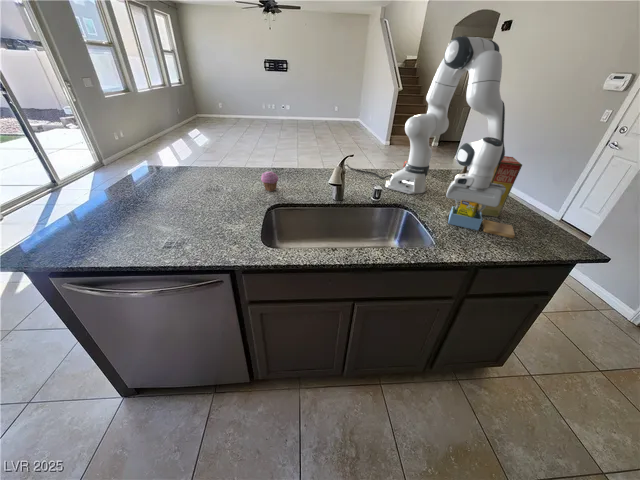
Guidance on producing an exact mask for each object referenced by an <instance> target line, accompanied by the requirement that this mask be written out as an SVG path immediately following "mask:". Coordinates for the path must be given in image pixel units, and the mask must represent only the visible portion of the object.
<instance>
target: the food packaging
mask: <svg viewBox="0 0 640 480" xmlns="http://www.w3.org/2000/svg"><path fill="white" fill-rule="evenodd" d="M522 167H523V164H522V163H521V162H520V161H518V160H517V159H516V158H515V157H514V156H508V155H505V156H504V158H503V160H502V161H501V162H500V163H499V164H498V165H497V166H496V168H495V170H494V175H493V178H492V180H491V183H496V184H502V185H503V186H505V188H506V190H505V193H504V194H503V195H502V196H501V200H500V203H499V205H498V206H497V207H492V206H486V207H485V208H484V209H483V210H482V211H481V212H482V216H486V217H487V216H488V217H494V218H499V217H500V215H501V213H502V210H503V208H504V206H505V204H506V201H507V199H508V197H509V195H510V193H511V191H512V189H513V186H514V184H515V182H516V180H517V178H518V176H519V174H520V171H521V169H522ZM481 207H482V205H481V204H479V206H478V209H479V208H481Z"/></svg>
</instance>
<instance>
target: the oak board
mask: <svg viewBox="0 0 640 480" xmlns="http://www.w3.org/2000/svg"><path fill="white" fill-rule="evenodd" d="M513 227H514V226H513V225H512V224H507V223H503V222H497V221H493V220H488V219H482V231H483V233H487V234H491V235H496V236H500V237H504V238H510V239H515V236H516V234H515V231H514V228H513Z"/></svg>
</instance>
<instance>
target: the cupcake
mask: <svg viewBox="0 0 640 480" xmlns="http://www.w3.org/2000/svg"><path fill="white" fill-rule="evenodd" d="M278 181H279V176H278V175H277V173H276V172H274V171H264V172H263V173H262V174H261V182H262V184H263V187H264V189H265V191H267V192H274V191H275V190H276V189H277V184H278Z"/></svg>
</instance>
